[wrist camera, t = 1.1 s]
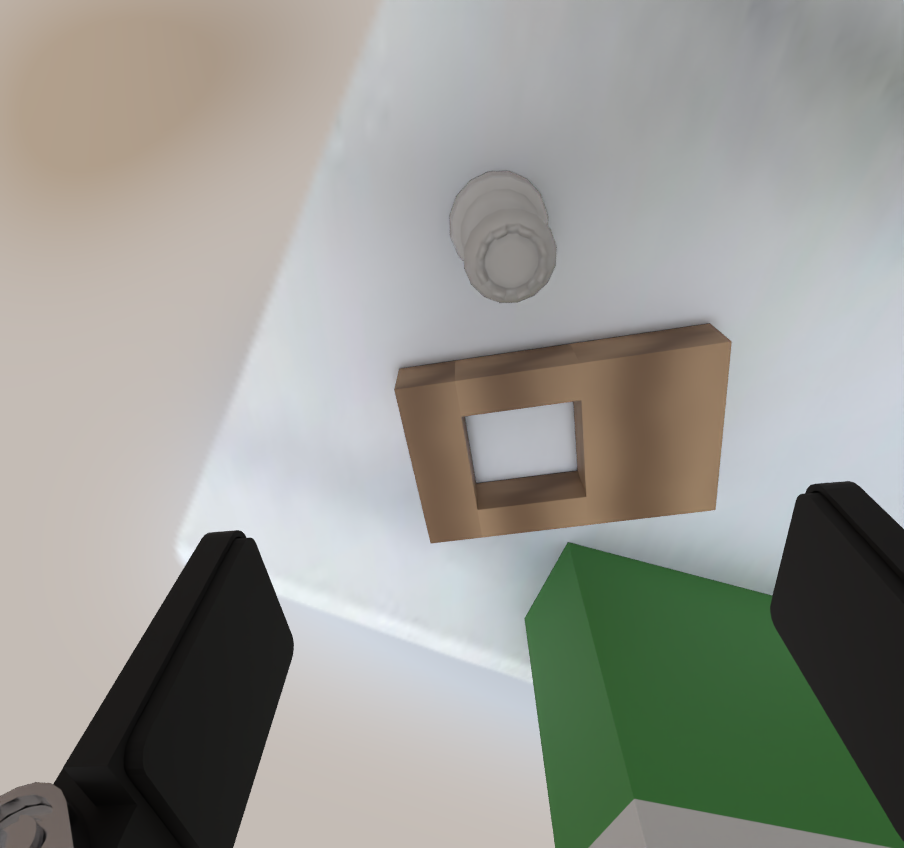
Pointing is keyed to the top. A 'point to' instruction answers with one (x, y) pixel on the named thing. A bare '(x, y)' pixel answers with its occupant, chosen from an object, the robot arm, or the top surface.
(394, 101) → the top surface
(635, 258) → the top surface
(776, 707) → the hardback book
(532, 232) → the rook chess piece
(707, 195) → the top surface
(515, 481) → the socket board
